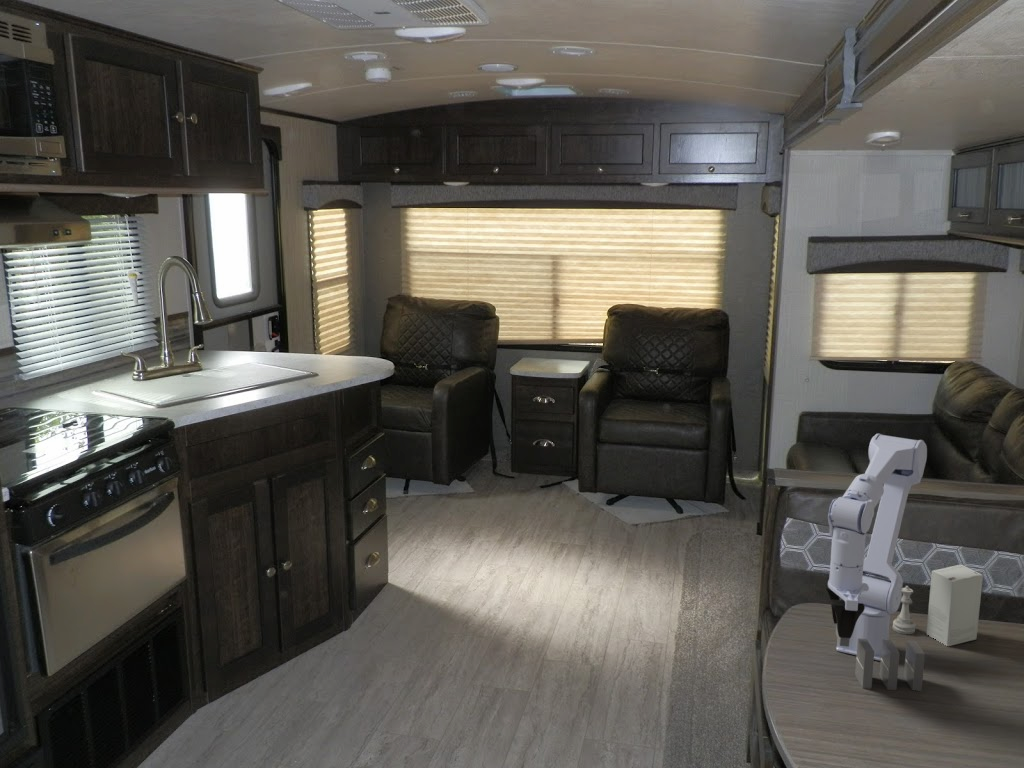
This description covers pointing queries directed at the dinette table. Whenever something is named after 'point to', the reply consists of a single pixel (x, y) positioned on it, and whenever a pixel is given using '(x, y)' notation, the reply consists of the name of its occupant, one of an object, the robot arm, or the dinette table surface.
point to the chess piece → (904, 615)
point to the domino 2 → (864, 663)
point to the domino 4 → (914, 665)
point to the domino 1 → (841, 640)
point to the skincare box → (954, 605)
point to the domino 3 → (889, 664)
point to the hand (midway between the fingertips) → (842, 630)
